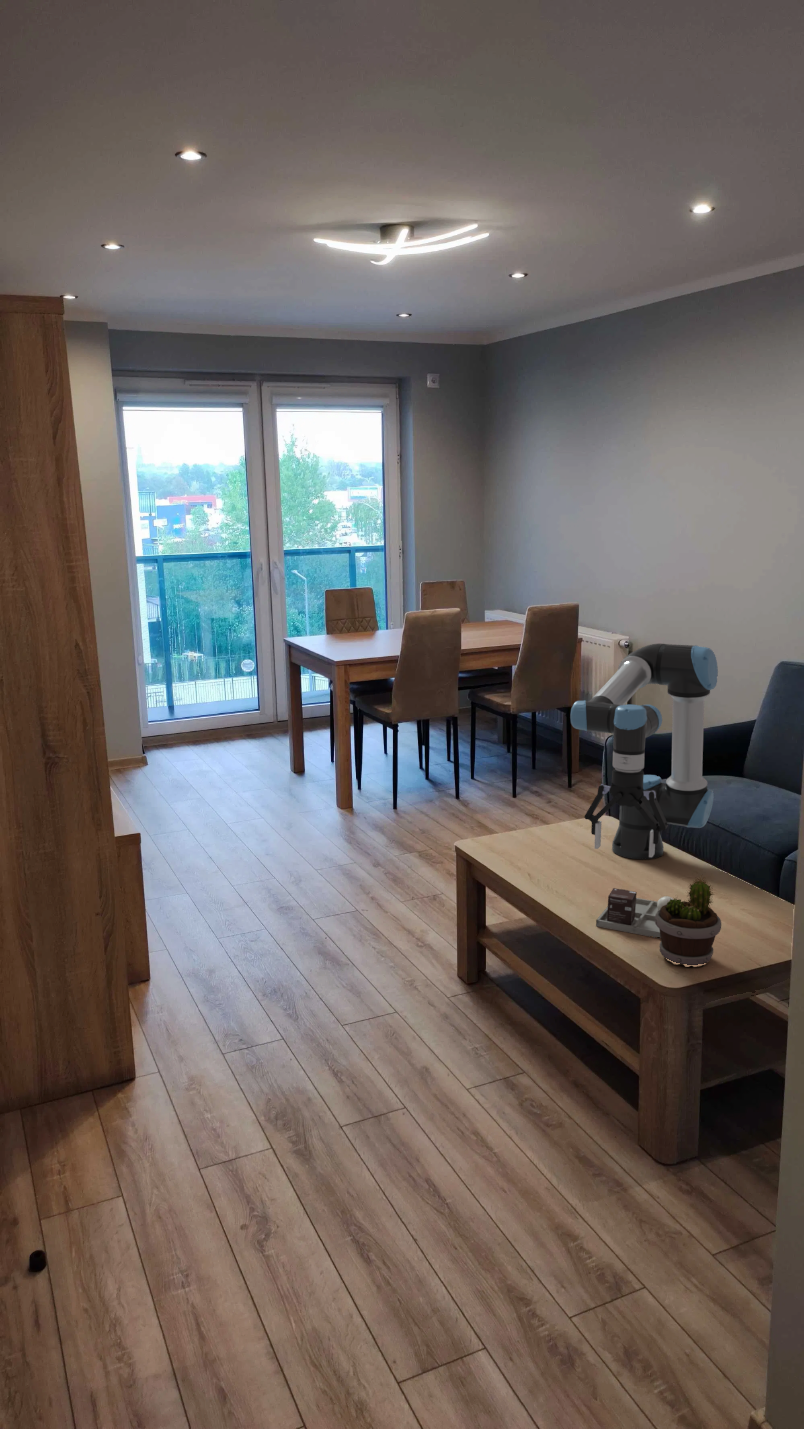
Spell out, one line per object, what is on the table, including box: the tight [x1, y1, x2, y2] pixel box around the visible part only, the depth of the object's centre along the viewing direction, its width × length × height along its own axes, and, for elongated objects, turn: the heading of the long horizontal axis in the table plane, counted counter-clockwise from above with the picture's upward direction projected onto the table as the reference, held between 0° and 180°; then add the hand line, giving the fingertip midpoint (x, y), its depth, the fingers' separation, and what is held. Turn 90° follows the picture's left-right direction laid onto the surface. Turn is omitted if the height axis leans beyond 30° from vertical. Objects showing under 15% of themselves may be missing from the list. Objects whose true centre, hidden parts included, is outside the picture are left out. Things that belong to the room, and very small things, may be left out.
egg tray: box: [595, 897, 661, 939], centre depth 255 cm, size 19×19×2 cm
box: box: [607, 887, 638, 926], centre depth 253 cm, size 6×6×7 cm
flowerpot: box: [655, 874, 722, 965], centre depth 231 cm, size 14×15×20 cm
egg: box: [657, 895, 674, 911], centre depth 257 cm, size 5×5×5 cm
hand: (624, 851), depth 250 cm, fingers open, 13 cm apart
